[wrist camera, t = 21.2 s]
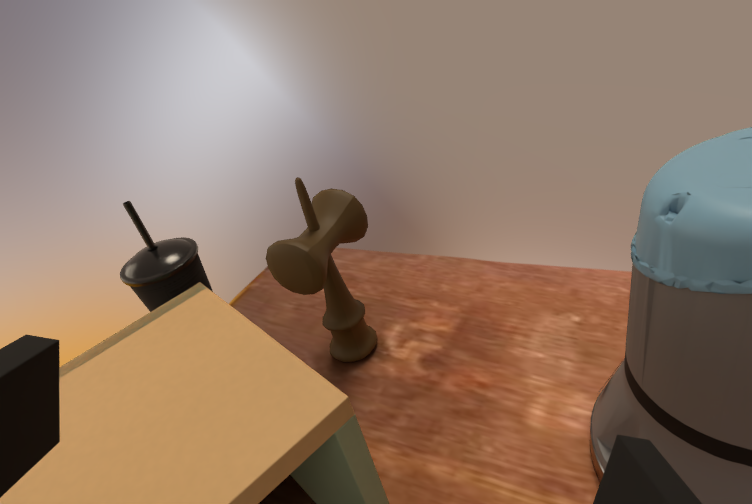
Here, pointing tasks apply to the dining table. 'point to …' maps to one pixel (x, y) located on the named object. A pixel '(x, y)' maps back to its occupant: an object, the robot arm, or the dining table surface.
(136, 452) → the cabinet
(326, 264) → the kendama
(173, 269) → the drinking cup
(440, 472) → the dining table surface
